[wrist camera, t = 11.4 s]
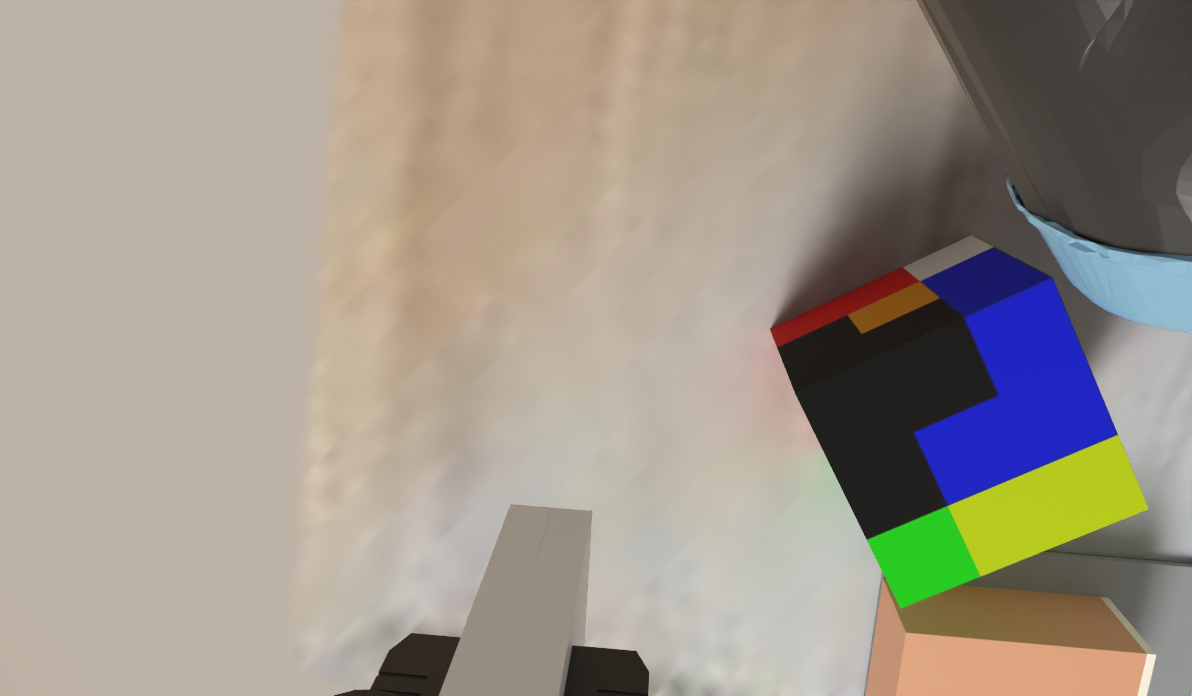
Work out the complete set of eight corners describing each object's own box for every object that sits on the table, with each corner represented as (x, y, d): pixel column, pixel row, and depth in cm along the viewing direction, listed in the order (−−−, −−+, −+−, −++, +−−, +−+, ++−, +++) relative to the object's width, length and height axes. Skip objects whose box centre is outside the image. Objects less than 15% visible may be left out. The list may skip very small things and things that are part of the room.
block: (1109, 597, 49) (882, 578, 49) (1157, 655, 44) (906, 632, 44) (1082, 719, 50) (865, 699, 51) (1126, 787, 46) (885, 764, 46)
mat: (887, 538, 49) (888, 542, 49) (1218, 566, 48) (1222, 570, 48) (859, 727, 52) (860, 732, 52) (1170, 756, 51) (1174, 762, 51)
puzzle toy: (970, 234, 45) (1052, 277, 35) (1050, 420, 47) (1148, 509, 37) (769, 329, 47) (795, 394, 37) (855, 504, 49) (900, 608, 39)
